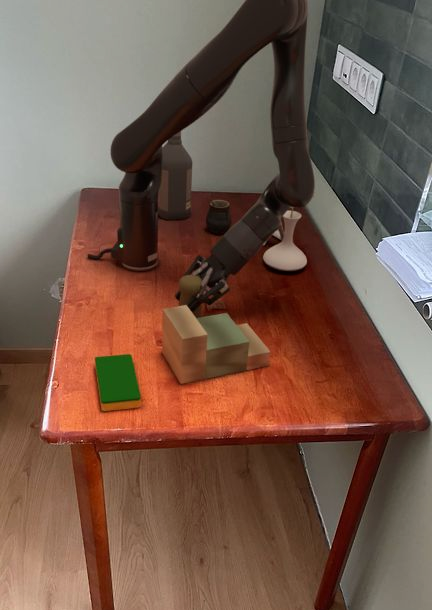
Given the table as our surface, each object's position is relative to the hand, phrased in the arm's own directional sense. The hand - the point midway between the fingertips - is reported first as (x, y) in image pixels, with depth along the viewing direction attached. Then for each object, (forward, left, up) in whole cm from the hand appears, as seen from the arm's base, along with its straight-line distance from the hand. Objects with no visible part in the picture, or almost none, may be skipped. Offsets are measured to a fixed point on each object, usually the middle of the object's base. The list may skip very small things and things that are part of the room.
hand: (182, 305), depth 132 cm
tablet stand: (+13, +49, -5) cm, 51 cm away
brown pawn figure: (+2, +1, -5) cm, 5 cm away
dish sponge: (-6, -25, -5) cm, 26 cm away
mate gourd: (-2, +50, -5) cm, 50 cm away
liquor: (-17, +57, -5) cm, 60 cm away
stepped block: (+10, -11, -5) cm, 15 cm away
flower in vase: (+19, +36, -5) cm, 41 cm away
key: (+3, +14, -5) cm, 15 cm away
